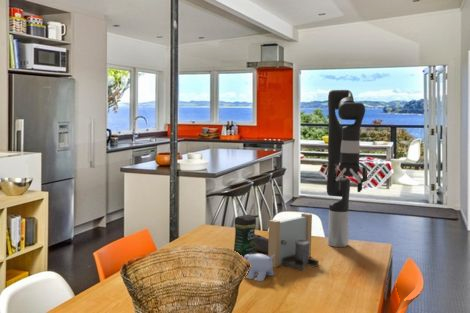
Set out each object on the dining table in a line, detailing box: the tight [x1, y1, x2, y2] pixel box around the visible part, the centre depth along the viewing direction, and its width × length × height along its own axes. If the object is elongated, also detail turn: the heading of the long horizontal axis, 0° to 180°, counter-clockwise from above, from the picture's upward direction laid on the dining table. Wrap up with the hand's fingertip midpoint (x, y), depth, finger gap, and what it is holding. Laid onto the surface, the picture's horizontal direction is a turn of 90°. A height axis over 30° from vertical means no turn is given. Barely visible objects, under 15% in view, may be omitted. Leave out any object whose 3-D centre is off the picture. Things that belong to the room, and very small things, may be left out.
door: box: [267, 212, 313, 268], centre depth 199 cm, size 24×5×19 cm, turn 133°
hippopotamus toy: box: [244, 253, 275, 282], centre depth 180 cm, size 11×15×10 cm
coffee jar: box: [233, 214, 257, 257], centre depth 204 cm, size 10×8×19 cm
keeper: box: [282, 255, 319, 272], centre depth 194 cm, size 11×10×3 cm
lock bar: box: [295, 239, 310, 267], centre depth 193 cm, size 4×4×10 cm
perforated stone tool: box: [255, 233, 269, 254], centre depth 213 cm, size 15×5×7 cm, turn 42°
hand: (348, 190), depth 189 cm, fingers open, 8 cm apart
